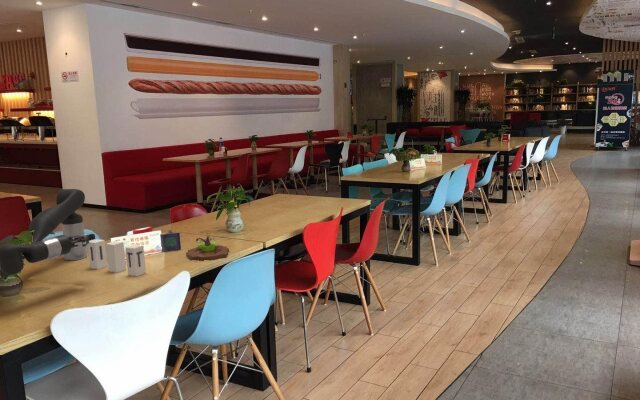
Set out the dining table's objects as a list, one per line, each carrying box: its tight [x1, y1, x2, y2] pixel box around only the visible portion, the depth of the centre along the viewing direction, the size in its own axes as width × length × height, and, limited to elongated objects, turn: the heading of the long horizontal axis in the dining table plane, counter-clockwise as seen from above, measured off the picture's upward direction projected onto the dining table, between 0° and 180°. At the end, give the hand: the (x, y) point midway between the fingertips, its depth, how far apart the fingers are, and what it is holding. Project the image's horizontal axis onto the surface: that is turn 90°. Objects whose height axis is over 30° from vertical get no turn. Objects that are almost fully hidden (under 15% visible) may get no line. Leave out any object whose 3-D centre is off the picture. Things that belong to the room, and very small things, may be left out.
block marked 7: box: [124, 244, 147, 277], centre depth 215 cm, size 5×5×12 cm
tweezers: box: [197, 236, 217, 244], centre depth 278 cm, size 18×5×2 cm, turn 157°
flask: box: [159, 228, 182, 253], centre depth 257 cm, size 9×3×11 cm, turn 109°
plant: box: [185, 233, 230, 262], centre depth 246 cm, size 20×20×11 cm
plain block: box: [105, 240, 127, 274], centre depth 221 cm, size 5×5×12 cm
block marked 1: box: [86, 238, 108, 270], centre depth 227 cm, size 5×5×12 cm
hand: (93, 236), depth 210 cm, fingers closed
